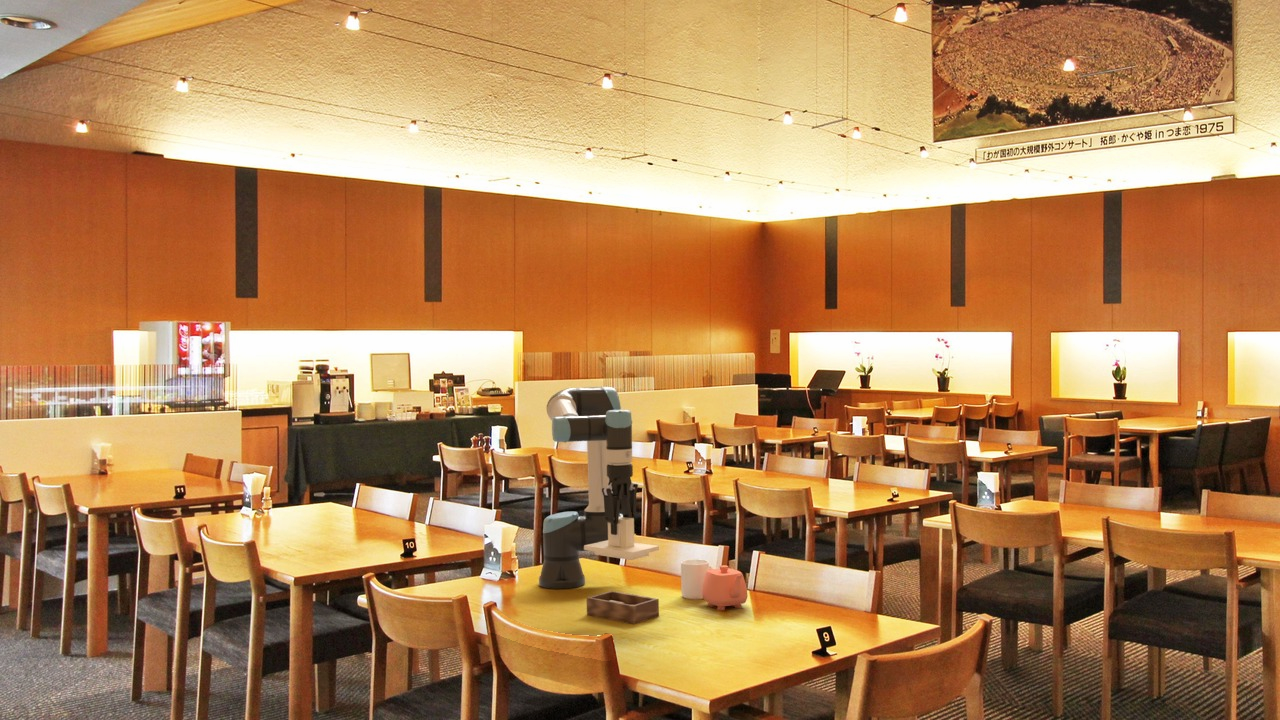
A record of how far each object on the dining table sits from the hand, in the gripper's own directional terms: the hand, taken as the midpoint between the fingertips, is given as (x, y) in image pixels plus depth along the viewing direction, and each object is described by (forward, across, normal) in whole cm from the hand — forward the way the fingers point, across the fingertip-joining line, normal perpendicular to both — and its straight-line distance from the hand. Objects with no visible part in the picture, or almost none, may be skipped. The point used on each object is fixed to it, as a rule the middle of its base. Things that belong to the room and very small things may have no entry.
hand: (621, 544), depth 307 cm
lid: (+3, 0, 0) cm, 3 cm away
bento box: (+21, 0, 0) cm, 21 cm away
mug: (+21, +33, -3) cm, 39 cm away
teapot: (+21, +26, -18) cm, 38 cm away
